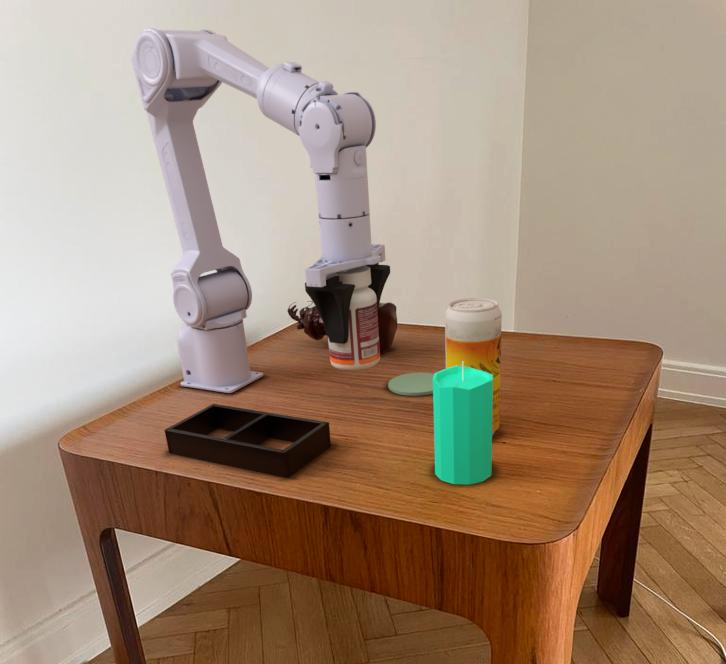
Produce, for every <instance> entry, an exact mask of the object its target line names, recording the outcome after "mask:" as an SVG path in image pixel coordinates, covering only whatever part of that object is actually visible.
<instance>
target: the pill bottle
mask: <svg viewBox="0 0 726 664" xmlns="http://www.w3.org/2000/svg"><path fill="white" fill-rule="evenodd" d="M338 276H339V281H342V284H354V285H355V288H354V291H353V294H352V298H351V302H350V309H349V335H348V341H347V343H345V344H340V343H331V342H330V341H329V338H328V337H327V341H328V342H327V344H328V352H329V362H330V364H331V366H332V367H333V368H335V369H337V370H343V371H361V370H366V369H370V368H372V367H374V366H376V365H377V364H378V363H379V362H380V360H381V355H380V347H379V331H378V315H377V298H376V294H375V292H374V291H373V290H372V289H370V288H368V286H369V285H370V284H371V272H370V268H369V267H368V266H361V267H357V268H354V269H352V270H349V271H347V272H344V273H341V274H339V275H338Z"/></svg>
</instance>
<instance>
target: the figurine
mask: <svg viewBox="0 0 726 664" xmlns="http://www.w3.org/2000/svg"><path fill="white" fill-rule="evenodd" d="M309 302H311V303H310V304H309V305H307V306H306V307H303V308H301V309H300V310H299V308H297V304H296V303H297V301H295V302H292V303H291V304H289V306H288V308H287V314H288V316H289V317H290V319H292V320H294V321H296V322H297V323H298V324H297V325H296V329H297V330H303V333H304V334H305V335H307V336H308V337H309V338H310V339H312V340H314V341H321V340H323V339H324V338H325V336H326V337H328V335H327V332H326V329H325V326H324V324H323V321H322V318H321V316H320V314H319V311H318V309H317V308H316V306H315V305H313V304H314V302H313V301H312V300H309V301H307V303H309ZM293 304H294V305H293ZM292 305H293V306H292ZM312 305H313V306H312ZM291 306H292V307H291ZM310 306H312V307H310ZM298 311H299V312H298ZM297 313H299V315H297ZM377 315H378V331H379V347H380V356H381V355H383V354H384V353H386V352H387V351H388V352H389V351H390V350H391V348H392V346H393V343H394V340H395V336H396V333H397V329H398V314H397V306H396V305H395V303H392V302H390V301H389V302H380V303H379V308H378V314H377Z"/></svg>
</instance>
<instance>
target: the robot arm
mask: <svg viewBox="0 0 726 664" xmlns="http://www.w3.org/2000/svg"><path fill="white" fill-rule="evenodd" d="M130 61H131V63H132V67H133V68H132V69H133V71H134V75H135V80H136V83H137V86H138V91H139V95H140V98H141V101H142V106H143V109H144V111H145V112H146V114H147V119H148V123H149V127H150V131H151V135H152V138H153V142H154V143H153V144H154V146H155V151H156V154H157V158H158V161H159V162H158V163H159V165H160V169H161V173H162V177H163V181H164V185H165V188H166V192H167V196H168V200H169V204H170V208H171V212H172V215H173V219H174V223H175V227H176V230H177V234H178V239H179V242H180V245H181V251H182V256H181V257H180V259H179V260H178V262H177V263H176V265H175V266H174V267H173V269H172V270H171V272H170V276H171V277H170V278H171V281H172V288H173V292H172V293H173V294H172V295H173V296H172V300H173V305H174V309H175V312H176V313H177V315H178V317H179V318H180V319H181V321H183V322H184V323H182V325H181V326H180V328H179V329H178V333H177V339H176V340H177V341H176V342H177V343H176V344H177V351H178V354H179V355H178V356H179V360H180V361H179V362H180V366H181V371H182V377H183V381H181V382H180V386H181V387H186V388H191V389H192V388H193V389H197V390H205V391H211V392H218V393H225V394H232V393H234V392H237V391H238V390H240V389H242V388H244V387H246V386H247V385H249V384H251V383H253V382H255V381H257V380H259V379H261V378H262V377H264V373H263V372H261V371H260V372H259V371H253V370H251V367H250V362H249V361H250V360H249V353H248V347H247V341H246V340H247V339H246V332H245V325H244V319H245V318H247V317H248V316H247V310H249V308H250V307H251V304H252V300H253V292H252V287H251V283H250V281H249V279H248V278H247V276H246V273H245V272H244V270H243V267H242V263H241V259H240V257H238V256H237V255H235V254H234V253H232V251H230V250H228V249H227V248H225V247H224V246H223V242H222V238H221V234H220V233H221V232H220V229H219V224H218V221H217V217H216V212H215V208H214V204H213V201H212V200H213V199H212V196H211V192H210V188H209V184H208V180H207V175H206V171H205V168H204V163H203V159H202V154H201V151H200V147H199V143H198V138H197V134H196V130H195V126H194V120H195V117H196V115H197V113H198V111H199V109H201V108H203V107H204V105H205V104H206V103H207V102H208V101H209V100H210V99H211V97H212V96H213V95H214V94H215V92H216V91H217V90H218V88H219V87H220V86H221V85H222V83H223V84H225V85H227V86H229V87H231V88H233V89H236V90H237V91H240V92H242V93H244V94H246V95H248V96H250V97H252V98H254V99H255V100H257V105H258V108H259V111H260V112H261V114H262V115H263V116H264V117H265V118H268V119H269V120H271V121H272V122H275V123H276V124H278V125H280V126H281V127H283V128H285V129H287V130H288V131H290V132H292V133H293V134H295V135H297V136H298V137H299V138H300V141H301V143H302V146H303V147H304V148H305V150H306V152H307V154H308V157H309V166H310V169H312V172H313V173H314V179H315V189H316V200H317V202H316V203H317V212H318V224H319V235H320V236H319V237H320V247H321V256H320V258H318V259H317V260H316V261H314V263H313V264H312V265H310V266H308V267H306V268H304V271H305V272H304V274H305V283H304V290H305V292H306V294H307V296H309V298H310V299H311V301H312V302H313V304H314V306H316V308H317V309H318V311H319V314H320V316H321V318H322V321H323V324H324V326H325V329H326V332H327V335H328V336H327V335H326V336H327V339H328V338H329V341H330V342H331V343H340V344H345V343H347V341H348V335H349V309H350V302H351V298H352V294H353V291H354V288H355V285H354V284H342V281H339V276H338V275H339V274H341V273H344V272H347V271H349V270H352V269H354V268H357V267H361V266H368V267H369V268H370V272H371V284H370V285H369V286H368V288H370V289H372V290H373V291H374V292H375V294H376V298H377V314H378V308H379V303H381V298H382V294H383V291H384V289H385V285H386V283H387V280H388V278H389V276H390V275H391V266H390V265H388V264H379V263H383V262H385V261H386V246H385V245H386V244H381V243H379V244H378V243H375V244H374V243H372V231H371V229H372V228H371V212H370V211H371V210H370V194H369V177H368V161H367V160H368V159H367V158H368V157H367V149H368V147H369V146H370V145H371V143H372V142H373V140H374V137H375V135H376V128H377V122H376V115H375V111H374V109H373V106H372V104H371V103H370V102H369V100H368V99H366V98H365V97H364V96H362V95H361V93H360V92H359V91H347V92H345V93H342V94H339V93H338V92H337V91H336V90H335V89H334V84H333V83H332V82H329V81H327V80H321V81H319V80H316V79H314V78H313V77H312V76H309V75H307V74H305V73H303V72H302V69H303V66H302V65H301V64H300V63H298V62H296V61H285V62H284V63H277V64H274V65H273V66H271V67H269V66H267V65H266V64H264V63H263V62H261V61H259V60H258V59H257V58H255V57H253V56H251V55H250V54H249V53H247V52H245V51H244V50H242V49H241V48H239V47H237V46H236V45H234V44H233V43H231V42H230V41H228V38H227V36H226V35H223V34H220V33H216V32H215V31H214V30H211V29H201V30H200V29H199V30H177V29H170V30H169V29H156V28H153V27H147V28H145V29H143V30H142V31H141V32H140V33H139V35H138V37H137V39H136V42H135V44H134V49H133V52H132V55H131V58H130ZM212 271H215V272H213V273H208V272H212ZM204 273H208V274H204ZM203 274H204V275H203Z"/></svg>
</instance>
